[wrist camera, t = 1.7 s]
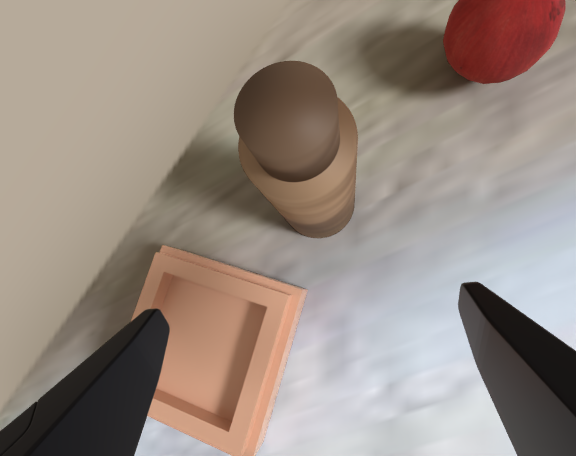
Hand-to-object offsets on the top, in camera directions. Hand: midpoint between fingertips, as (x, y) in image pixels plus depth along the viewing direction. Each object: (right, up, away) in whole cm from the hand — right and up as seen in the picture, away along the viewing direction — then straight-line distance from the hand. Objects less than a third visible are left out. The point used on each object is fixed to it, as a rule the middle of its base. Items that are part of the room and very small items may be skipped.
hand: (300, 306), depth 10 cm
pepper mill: (+2, +4, +13) cm, 14 cm away
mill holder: (-5, -5, +13) cm, 15 cm away
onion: (+13, +13, +13) cm, 23 cm away
